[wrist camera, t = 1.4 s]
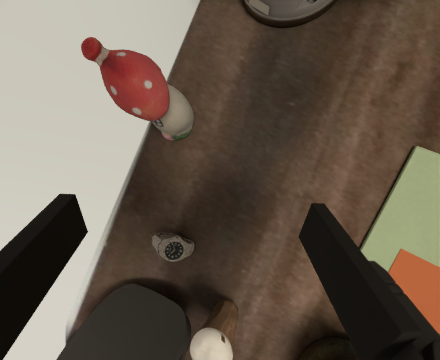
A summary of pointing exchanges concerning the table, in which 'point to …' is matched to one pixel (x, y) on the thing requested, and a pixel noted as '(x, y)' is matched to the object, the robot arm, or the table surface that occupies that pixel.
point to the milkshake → (216, 334)
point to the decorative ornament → (141, 89)
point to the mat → (412, 233)
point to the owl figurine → (330, 350)
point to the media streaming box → (131, 328)
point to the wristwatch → (172, 246)
